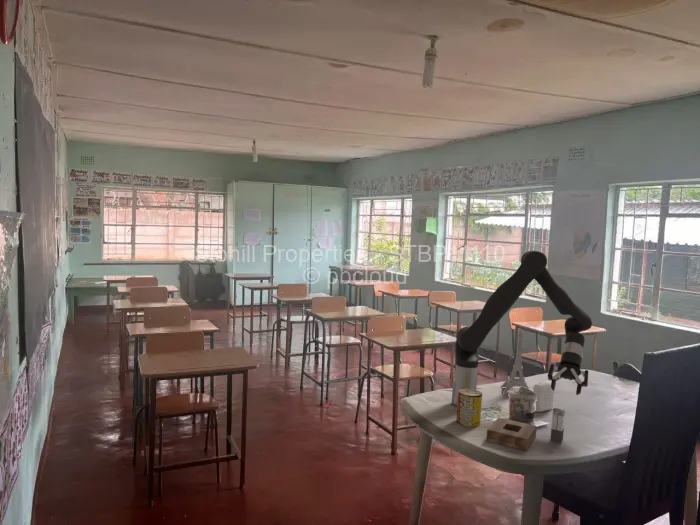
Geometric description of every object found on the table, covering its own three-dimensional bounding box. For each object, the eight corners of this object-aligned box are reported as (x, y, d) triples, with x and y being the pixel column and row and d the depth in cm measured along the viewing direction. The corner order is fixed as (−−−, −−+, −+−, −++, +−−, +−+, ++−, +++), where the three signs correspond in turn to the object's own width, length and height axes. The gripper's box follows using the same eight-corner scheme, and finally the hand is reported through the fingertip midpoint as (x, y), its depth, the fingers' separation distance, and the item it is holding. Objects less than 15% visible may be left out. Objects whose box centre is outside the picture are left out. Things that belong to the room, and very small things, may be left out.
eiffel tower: (529, 389, 252) (534, 328, 249) (532, 398, 239) (537, 333, 236) (500, 386, 254) (505, 325, 252) (502, 395, 242) (507, 330, 239)
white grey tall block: (550, 441, 190) (552, 411, 189) (552, 437, 193) (554, 408, 192) (561, 443, 188) (563, 413, 187) (562, 440, 191) (565, 410, 190)
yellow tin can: (454, 417, 209) (456, 388, 208) (477, 419, 208) (479, 389, 207) (458, 426, 200) (460, 395, 199) (482, 427, 199) (484, 396, 199)
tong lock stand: (486, 440, 187) (487, 429, 186) (497, 428, 200) (498, 417, 199) (526, 451, 180) (527, 439, 179) (535, 437, 193) (536, 426, 192)
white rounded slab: (545, 406, 228) (547, 378, 227) (553, 409, 225) (556, 381, 224) (530, 409, 222) (532, 381, 222) (538, 413, 219) (541, 384, 218)
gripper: (552, 348, 210) (544, 382, 200) (591, 354, 202) (585, 390, 193) (553, 358, 214) (546, 393, 205) (591, 364, 207) (585, 400, 198)
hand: (565, 391), depth 199 cm, fingers open, 8 cm apart
